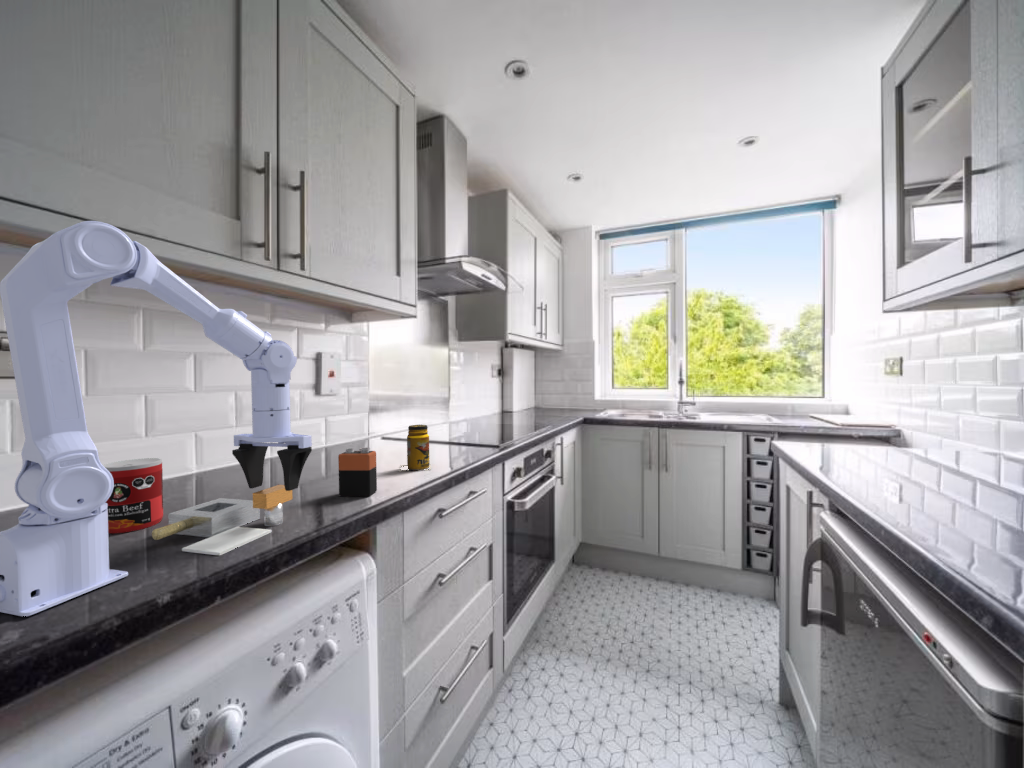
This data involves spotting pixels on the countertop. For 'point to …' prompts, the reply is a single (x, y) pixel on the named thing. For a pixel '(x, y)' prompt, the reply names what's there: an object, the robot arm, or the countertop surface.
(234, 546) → the mat
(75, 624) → the countertop surface
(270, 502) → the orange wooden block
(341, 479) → the battery
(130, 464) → the canned food
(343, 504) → the countertop surface
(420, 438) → the condiment
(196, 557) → the countertop surface
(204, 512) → the hollow block with rod
